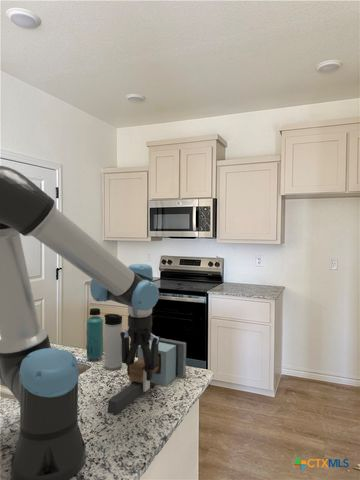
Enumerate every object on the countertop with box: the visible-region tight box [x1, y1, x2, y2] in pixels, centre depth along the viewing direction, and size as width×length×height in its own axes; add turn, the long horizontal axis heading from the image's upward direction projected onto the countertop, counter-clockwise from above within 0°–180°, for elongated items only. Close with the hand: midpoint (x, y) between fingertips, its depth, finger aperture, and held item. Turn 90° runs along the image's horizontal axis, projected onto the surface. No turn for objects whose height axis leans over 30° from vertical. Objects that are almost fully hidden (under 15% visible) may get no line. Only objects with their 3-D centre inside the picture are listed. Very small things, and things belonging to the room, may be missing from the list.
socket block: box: [137, 340, 176, 387], centre depth 114 cm, size 7×11×11 cm, turn 64°
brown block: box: [128, 352, 161, 383], centre depth 108 cm, size 14×4×4 cm, turn 154°
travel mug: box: [103, 313, 123, 371], centre depth 123 cm, size 6×7×20 cm
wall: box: [150, 337, 187, 379], centre depth 119 cm, size 2×16×12 cm, turn 64°
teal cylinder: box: [85, 307, 104, 359], centre depth 130 cm, size 6×7×20 cm
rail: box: [107, 381, 145, 416], centre depth 100 cm, size 17×3×4 cm, turn 154°
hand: (139, 387), depth 104 cm, fingers closed on brown block, 4 cm apart
